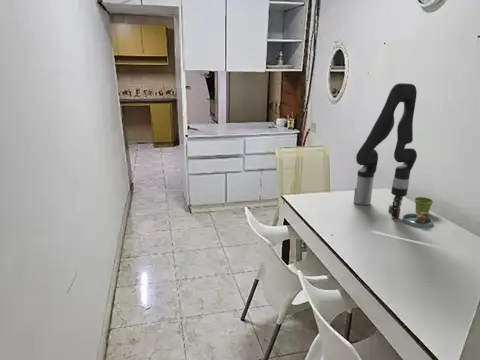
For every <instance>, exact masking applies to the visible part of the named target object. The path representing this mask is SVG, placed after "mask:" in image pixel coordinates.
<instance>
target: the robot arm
mask: <svg viewBox="0 0 480 360" xmlns="http://www.w3.org/2000/svg"><path fill="white" fill-rule="evenodd" d="M417 91H418V90H417V88H416V86H415V84H412V83H405V82H404V83H402V82H400V83H396V84H393V86H392V88H391V89H390V91H389V93H388V96H387V98H386V101H385V103H384V105H383V108H382V110H381V112H380V114H379V115H378V117H377V119H376V120H375V122H374V124H373V126H372V129H371V131H370V132H369V134H368V136H367V138H366V139H365V141H364V143H363V144H362V145H361V147H360V148H359V150H358V152H356V155H355V156H356V157H355V160H356V163H357V164H358V165H359V166H362V167H361V168H359V169H358V170H357V176H356V185H355V188H354V194H353V195H354V196H353V203H355V204H357V205H361V206H369V205H371V202H372V193H373V186H374V178H375V173H376V172H377V167H378V162H379V153H378V152H377V150H376V148H377V146H379V145H380V144H381V143H382V142H383V141H384V140H386V139H387V138H388V136H389V135H390V133H391V132H392V130H393V128H394V126H395V111H396V109H397V107H398V105H399V104H400V103H403V111H402V115H401V117H400V119H399V121H398V123H397V124H398V125H397V127H396V129H397V131H396V134H397V135H396V137H397V138H396V139H397V141H396V145H395V149H394V153H393V157H394V160H395V161H396V163H402V164H400V165H398V166H396V167H395V170H394V175H393V176H394V177H393V180H392V186H391V194H392V195H393V196H394V197H393V199H392V205H393V207H392V211H393V214H392V213H391V214H392V216H391V217H392V218H393V219H394V218H395V219H397V218H396V217H397V213H398V208H400V209H401V207H402V203H403V200H404V197H407V196H408V190H409V185H410V174H411V170H412V169H413V167H414V165H415V163H416V161H417V157H418V153H417V151H416V150H415V149H414V148H410V147H408V148H406V145H408V144H411V143H412V142H413V141H414V140H413V137H414V134H413V126H414V125H413V124H414V123H413V122H414V114H415V108H416V101H417V94H418V93H417ZM394 208H396V209H394Z"/></svg>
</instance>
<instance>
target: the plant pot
mask: <svg viewBox="0 0 480 360" xmlns="http://www.w3.org/2000/svg"><path fill="white" fill-rule="evenodd" d="M434 201H435V200H433V199H432V198H428V197H425V196H416V197H414V203H415V214H421V212H427V213H429V212H430V210H431V207H432V205H433V203H434ZM429 214H430V213H429Z"/></svg>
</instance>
